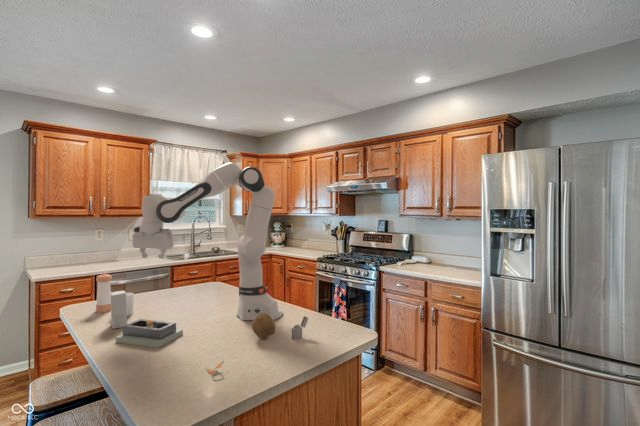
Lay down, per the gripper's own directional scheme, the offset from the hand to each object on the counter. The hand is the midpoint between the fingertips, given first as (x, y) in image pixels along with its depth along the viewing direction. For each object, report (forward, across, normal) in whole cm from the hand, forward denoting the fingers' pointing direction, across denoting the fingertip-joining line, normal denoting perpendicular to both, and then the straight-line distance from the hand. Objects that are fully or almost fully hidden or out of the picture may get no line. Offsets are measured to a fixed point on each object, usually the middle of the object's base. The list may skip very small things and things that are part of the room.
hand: (153, 258), depth 161 cm
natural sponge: (+29, -59, +7) cm, 66 cm away
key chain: (+30, -57, +36) cm, 74 cm away
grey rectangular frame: (+27, -15, +19) cm, 36 cm away
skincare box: (+29, +10, +10) cm, 33 cm away
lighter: (+29, -73, +2) cm, 79 cm away
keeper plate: (+29, -15, +19) cm, 38 cm away
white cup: (+29, +20, -3) cm, 36 cm away
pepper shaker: (+29, +36, -6) cm, 47 cm away
